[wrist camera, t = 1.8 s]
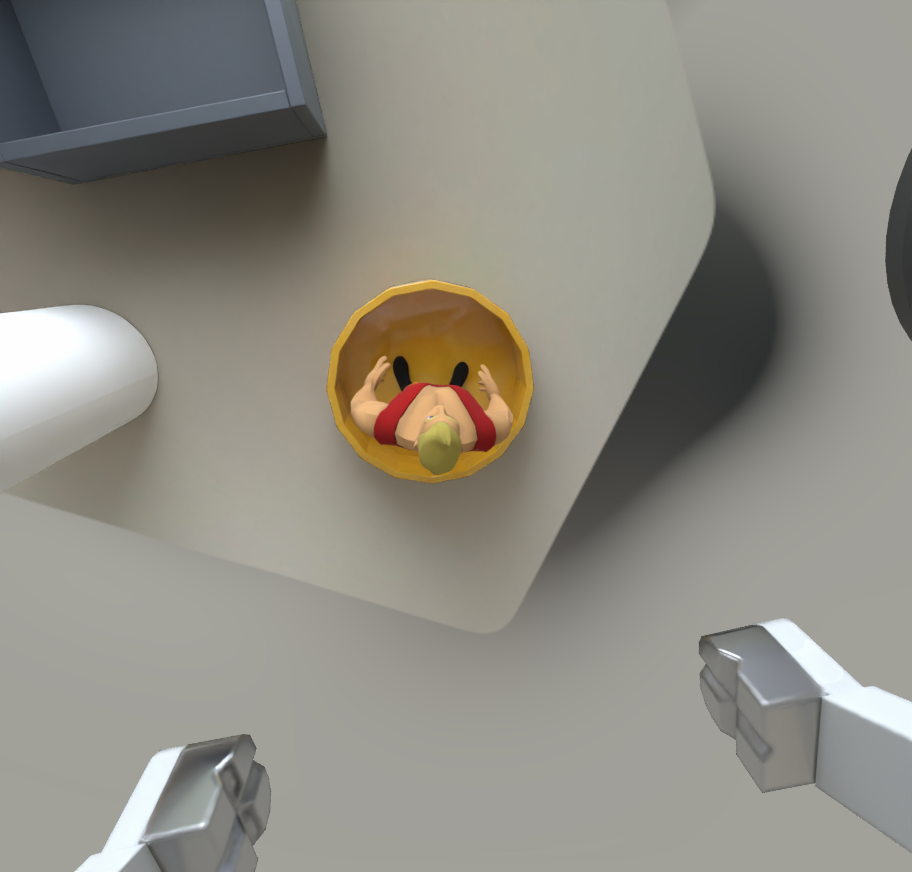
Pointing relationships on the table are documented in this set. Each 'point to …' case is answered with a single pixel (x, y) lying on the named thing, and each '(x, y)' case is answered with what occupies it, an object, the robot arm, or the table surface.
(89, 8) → the container
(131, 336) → the cup
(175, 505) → the table surface
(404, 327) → the bowl
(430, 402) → the action figure
